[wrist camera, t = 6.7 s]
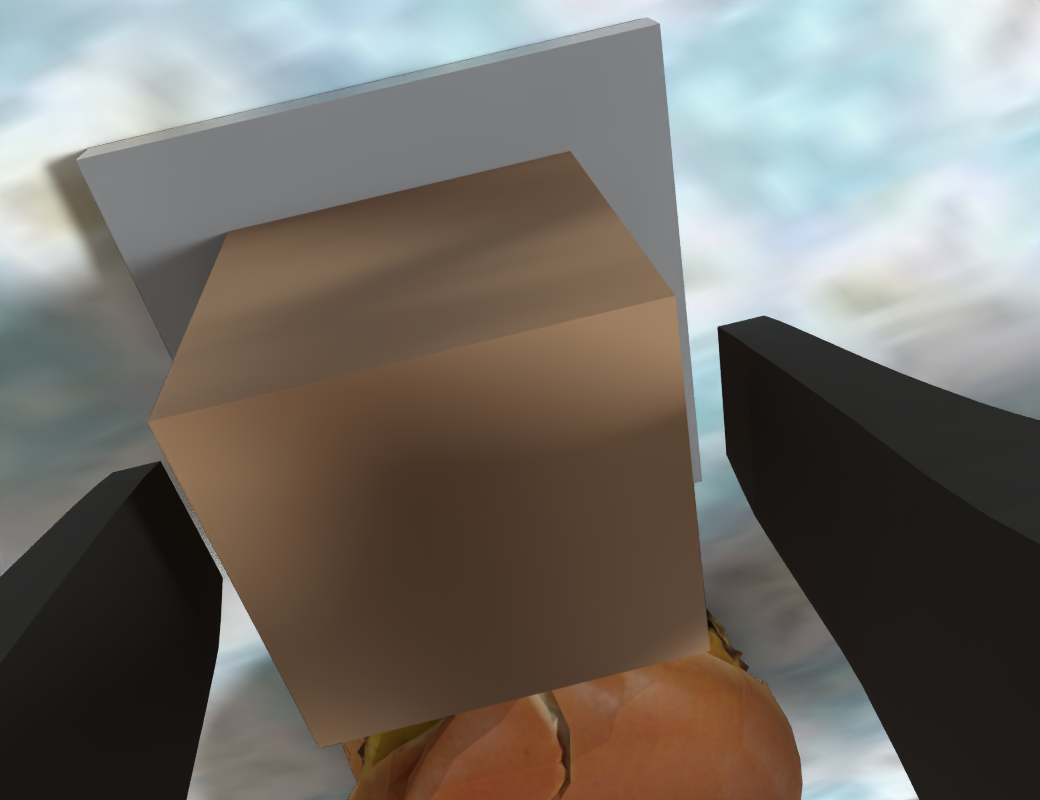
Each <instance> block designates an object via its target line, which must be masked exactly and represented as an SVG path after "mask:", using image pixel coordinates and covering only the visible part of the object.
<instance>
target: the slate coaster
mask: <svg viewBox="0 0 1040 800" xmlns="http://www.w3.org/2000/svg"><path fill="white" fill-rule="evenodd" d="M568 151H571V153H572V154H573V155H574V157H575V158H576V159H577V161H578V162H579V164H580V165H581V166H582V168H583V169H584V170H585V172H586V173H587V175H588V176H589V177H590V179H591V180H592V181H593V183H594V184H595V186H596V187H597V188H598V190H599V191H600V192H601V194H602V195H603V197H604V198H605V199H606V201H607V202H608V203H609V205H610V206H611V208H612V209H613V210H614V212H615V213H616V214H617V216H618V217H619V219H620V220H621V221H622V223H623V224H624V226H625V227H626V228H627V230H628V231H629V232H630V234H631V235H632V237H633V238H634V239H635V241H636V242H637V243H638V245H639V246H640V248H641V249H642V250H643V252H644V253H645V254H646V256H647V257H648V259H649V260H650V261H651V263H652V264H653V265H654V267H655V268H656V270H657V271H658V272H659V274H660V275H661V276H662V278H663V279H664V281H665V282H666V283H667V285H668V286H669V287H670V289H671V290H672V292H673V293H674V294H675V297H676V307H677V317H678V327H679V338H680V348H681V358H682V369H683V379H684V389H685V399H686V410H687V420H688V430H689V441H690V451H691V461H692V471H693V482H694V483H696V482H700V481H702V477H701V466H700V456H699V445H698V434H697V423H696V412H695V401H694V390H693V379H692V368H691V358H690V347H689V336H688V325H687V314H686V303H685V292H684V281H683V270H682V260H681V249H680V238H679V227H678V216H677V205H676V194H675V183H674V172H673V161H672V151H671V140H670V129H669V118H668V107H667V96H666V85H665V74H664V63H663V53H662V42H661V31H660V23H658V22H656V21H654V20H651V19H649V18H644V19H640V20H635V21H631V22H627V23H622V24H618V25H614V26H610V27H605V28H601V29H597V30H592V31H588V32H584V33H580V34H575V35H571V36H567V37H562V38H558V39H554V40H550V41H545V42H541V43H537V44H532V45H528V46H524V47H520V48H515V49H511V50H507V51H503V52H498V53H494V54H490V55H485V56H481V57H477V58H473V59H468V60H464V61H460V62H455V63H451V64H447V65H443V66H438V67H434V68H430V69H425V70H421V71H417V72H413V73H408V74H404V75H400V76H395V77H391V78H387V79H383V80H378V81H374V82H370V83H365V84H361V85H357V86H353V87H348V88H344V89H340V90H335V91H331V92H327V93H323V94H318V95H314V96H310V97H305V98H301V99H297V100H293V101H288V102H284V103H280V104H276V105H271V106H267V107H263V108H258V109H254V110H250V111H246V112H241V113H237V114H233V115H228V116H224V117H220V118H216V119H211V120H207V121H203V122H198V123H194V124H190V125H186V126H181V127H177V128H173V129H168V130H164V131H160V132H156V133H151V134H147V135H143V136H138V137H134V138H130V139H126V140H121V141H117V142H113V143H108V144H104V145H100V146H96V147H91V148H88V149H87V150H86V151H85V152H84V153H83V154H82V155H81V156H79V157H78V158H77V159H76V162H77V165H78V167H79V169H80V171H81V173H82V175H83V177H84V179H85V181H86V183H87V185H88V187H89V189H90V191H91V193H92V195H93V198H94V200H95V202H96V204H97V206H98V208H99V210H100V212H101V214H102V216H103V218H104V220H105V222H106V224H107V226H108V228H109V230H110V233H111V235H112V237H113V239H114V241H115V243H116V245H117V247H118V249H119V251H120V253H121V255H122V257H123V259H124V261H125V263H126V266H127V268H128V270H129V272H130V274H131V276H132V278H133V280H134V282H135V284H136V286H137V288H138V290H139V292H140V294H141V296H142V299H143V301H144V303H145V305H146V307H147V309H148V311H149V313H150V315H151V317H152V319H153V321H154V323H155V325H156V327H157V329H158V332H159V334H160V336H161V338H162V340H163V342H164V344H165V346H166V348H167V350H168V352H169V354H170V356H171V358H172V360H174V358H175V356H176V353H177V351H178V349H179V346H180V344H181V342H182V339H183V337H184V335H185V332H186V330H187V328H188V325H189V323H190V320H191V318H192V316H193V313H194V311H195V309H196V306H197V304H198V302H199V299H200V297H201V295H202V292H203V290H204V287H205V285H206V283H207V280H208V278H209V276H210V273H211V271H212V269H213V266H214V264H215V262H216V259H217V257H218V254H219V252H220V250H221V247H222V245H223V243H224V240H225V238H226V236H227V233H228V231H232V230H236V229H241V228H245V227H249V226H253V225H258V224H262V223H266V222H270V221H275V220H279V219H283V218H287V217H292V216H296V215H300V214H304V213H309V212H313V211H317V210H321V209H326V208H330V207H334V206H338V205H343V204H347V203H351V202H355V201H360V200H364V199H368V198H372V197H377V196H381V195H385V194H389V193H394V192H398V191H402V190H406V189H411V188H415V187H419V186H423V185H428V184H432V183H436V182H440V181H445V180H449V179H453V178H457V177H462V176H466V175H470V174H474V173H479V172H483V171H487V170H491V169H496V168H500V167H504V166H508V165H513V164H517V163H521V162H525V161H530V160H534V159H538V158H542V157H547V156H551V155H555V154H559V153H564V152H568Z"/></svg>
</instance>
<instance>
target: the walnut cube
mask: <svg viewBox="0 0 1040 800" xmlns="http://www.w3.org/2000/svg"><path fill="white" fill-rule="evenodd" d="M147 423H148V425H149V426H150V428H151V430H152V432H153V434H154V436H155V438H156V440H157V442H158V444H159V445H160V447H161V449H162V451H163V453H164V455H165V457H166V459H167V461H168V463H169V464H170V466H171V468H172V470H173V472H174V474H175V476H176V478H177V480H178V481H179V483H180V485H181V487H182V489H183V491H184V493H185V495H186V497H187V499H188V500H189V502H190V504H191V506H192V508H193V510H194V512H195V514H196V516H197V518H198V519H199V521H200V523H201V525H202V527H203V529H204V531H205V533H206V535H207V536H208V538H209V540H210V542H211V544H212V546H213V548H214V550H215V552H216V554H217V555H218V557H219V559H220V561H221V563H222V565H223V567H224V569H225V571H226V572H227V574H228V576H229V578H230V580H231V582H232V584H233V586H234V588H235V590H236V591H237V593H238V595H239V597H240V599H241V601H242V603H243V605H244V607H245V609H246V610H247V612H248V614H249V616H250V618H251V620H252V622H253V624H254V626H255V627H256V629H257V631H258V633H259V635H260V637H261V639H262V641H263V643H264V645H265V646H266V648H267V650H268V652H269V654H270V656H271V658H272V660H273V662H274V663H275V665H276V667H277V669H278V671H279V673H280V675H281V677H282V679H283V681H284V682H285V684H286V686H287V688H288V690H289V692H290V694H291V696H292V698H293V700H294V701H295V703H296V705H297V707H298V709H299V711H300V713H301V715H302V717H303V718H304V720H305V722H306V724H307V726H308V728H309V730H310V732H311V734H312V736H313V737H314V739H315V741H316V743H317V745H318V747H319V748H323V747H327V746H331V745H335V744H339V743H343V742H347V741H351V740H355V739H359V738H363V737H367V736H371V735H375V734H379V733H383V732H387V731H391V730H395V729H399V728H403V727H407V726H411V725H415V724H419V723H423V722H427V721H431V720H435V719H439V718H443V717H447V716H451V715H455V714H459V713H463V712H468V711H472V710H476V709H480V708H484V707H488V706H492V705H496V704H500V703H504V702H508V701H512V700H516V699H520V698H524V697H528V696H532V695H536V694H540V693H544V692H548V691H552V690H556V689H560V688H564V687H568V686H572V685H576V684H580V683H584V682H588V681H592V680H596V679H600V678H604V677H608V676H612V675H616V674H620V673H624V672H628V671H632V670H636V669H640V668H644V667H648V666H652V665H656V664H660V663H664V662H668V661H672V660H676V659H680V658H684V657H688V656H692V655H696V654H700V653H704V652H708V651H710V646H709V636H708V626H707V615H706V605H705V595H704V584H703V574H702V564H701V554H700V543H699V533H698V523H697V513H696V502H695V492H694V482H693V471H692V461H691V451H690V441H689V430H688V420H687V410H686V399H685V389H684V379H683V369H682V358H681V348H680V338H679V327H678V317H677V307H676V297H675V294H674V293H673V292H672V290H671V289H670V287H669V286H668V285H667V283H666V282H665V281H664V279H663V278H662V276H661V275H660V274H659V272H658V271H657V270H656V268H655V267H654V265H653V264H652V263H651V261H650V260H649V259H648V257H647V256H646V254H645V253H644V252H643V250H642V249H641V248H640V246H639V245H638V243H637V242H636V241H635V239H634V238H633V237H632V235H631V234H630V232H629V231H628V230H627V228H626V227H625V226H624V224H623V223H622V221H621V220H620V219H619V217H618V216H617V214H616V213H615V212H614V210H613V209H612V208H611V206H610V205H609V203H608V202H607V201H606V199H605V198H604V197H603V195H602V194H601V192H600V191H599V190H598V188H597V187H596V186H595V184H594V183H593V181H592V180H591V179H590V177H589V176H588V175H587V173H586V172H585V170H584V169H583V168H582V166H581V165H580V164H579V162H578V161H577V159H576V158H575V157H574V155H573V154H572V153H571V151H568V152H564V153H559V154H555V155H551V156H547V157H542V158H538V159H534V160H530V161H525V162H521V163H517V164H513V165H508V166H504V167H500V168H496V169H491V170H487V171H483V172H479V173H474V174H470V175H466V176H462V177H457V178H453V179H449V180H445V181H440V182H436V183H432V184H428V185H423V186H419V187H415V188H411V189H406V190H402V191H398V192H394V193H389V194H385V195H381V196H377V197H372V198H368V199H364V200H360V201H355V202H351V203H347V204H343V205H338V206H334V207H330V208H326V209H321V210H317V211H313V212H309V213H304V214H300V215H296V216H292V217H287V218H283V219H279V220H275V221H270V222H266V223H262V224H258V225H253V226H249V227H245V228H241V229H236V230H232V231H228V233H227V236H226V238H225V240H224V243H223V245H222V247H221V250H220V252H219V254H218V257H217V259H216V262H215V264H214V266H213V269H212V271H211V273H210V276H209V278H208V280H207V283H206V285H205V287H204V290H203V292H202V295H201V297H200V299H199V302H198V304H197V306H196V309H195V311H194V313H193V316H192V318H191V320H190V323H189V325H188V328H187V330H186V332H185V335H184V337H183V339H182V342H181V344H180V346H179V349H178V351H177V353H176V356H175V358H174V360H173V363H172V365H171V368H170V370H169V372H168V375H167V377H166V379H165V382H164V384H163V386H162V389H161V391H160V393H159V396H158V398H157V401H156V403H155V405H154V408H153V410H152V412H151V415H150V417H149V419H148V422H147Z"/></svg>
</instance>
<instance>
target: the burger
mask: <svg viewBox="0 0 1040 800" xmlns="http://www.w3.org/2000/svg"><path fill="white" fill-rule="evenodd" d="M706 615H707V626H708V636H709V646H710V651H708V652H704V653H700V654H696V655H692V656H688V657H684V658H680V659H676V660H672V661H668V662H664V663H660V664H656V665H652V666H648V667H644V668H640V669H636V670H632V671H628V672H624V673H620V674H616V675H612V676H608V677H604V678H600V679H596V680H592V681H588V682H584V683H580V684H576V685H572V686H568V687H564V688H560V689H556V690H552V691H548V692H544V693H540V694H536V695H532V696H528V697H524V698H520V699H516V700H512V701H508V702H504V703H500V704H496V705H492V706H488V707H484V708H480V709H476V710H472V711H468V712H463V713H459V714H455V715H451V716H447V717H443V718H439V719H435V720H431V721H427V722H423V723H419V724H415V725H411V726H407V727H403V728H399V729H395V730H391V731H387V732H383V733H379V734H375V735H371V736H367V737H363V738H359V739H355V740H351V741H347V742H343V748H344V751H345V754H346V756H347V759H348V761H349V764H350V767H351V770H352V773H353V775H354V777H355V779H356V781H357V783H358V784H357V785H356V786H355V788H354V789H353V790H352V792H351V794H350V796H349V798H348V799H347V800H801V793H802V773H801V762H800V756H799V753H798V749H797V746H796V742H795V739H794V735H793V732H792V728H791V726H790V724H789V722H788V720H787V718H786V716H785V714H784V713H783V711H782V709H781V708H780V706H779V704H778V703H777V701H776V700H775V698H774V697H773V695H772V693H771V691H770V689H769V688H768V686H767V684H766V682H765V680H763V681H762V683H761V682H759V681H758V680H757V679H756V678H754V677H753V676H751V675H750V674H748V673H747V672H746V671H747V669H748V668H749V667H748V666H747V665H746V664H745V663H744V662H743V661H742V660H741V659H740V657H741V655H742V652H739V651H737V650H735V649H734V648H733V647H731V645H730V643H729V641H728V639H727V637H726V635H725V634H724V633H725V629H724V628H723V626H722V625H721V624H720V623H719V622H718V621H717V620H716V619H715V618H714V617H713V616H712V615H711V614H710V612H709V611H708V610H707V609H706Z"/></svg>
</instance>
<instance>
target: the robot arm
mask: <svg viewBox="0 0 1040 800" xmlns="http://www.w3.org/2000/svg"><path fill="white" fill-rule="evenodd" d="M718 341H719V355H720V369H721V384H722V398H723V412H724V427H725V441H726V455H727V457H728V459H729V461H730V464H731V466H732V468H733V470H734V472H735V475H736V477H737V479H738V481H739V484H740V486H741V488H742V490H743V492H744V494H745V496H746V498H747V501H748V503H749V505H750V507H751V509H752V511H753V513H754V515H755V517H756V519H757V520H758V522H759V523H760V525H761V527H762V528H763V530H764V531H765V533H766V535H767V536H768V538H769V539H770V541H771V542H772V544H773V545H774V547H775V549H776V550H777V552H778V553H779V555H780V556H781V558H782V560H783V561H784V563H785V564H786V566H787V567H788V569H789V570H790V572H791V573H792V575H793V577H794V578H795V580H796V581H797V583H798V584H799V586H800V587H801V589H802V590H803V592H804V593H805V595H806V596H807V598H808V600H809V601H810V603H811V604H812V606H813V607H814V609H815V610H816V612H817V613H818V615H819V616H820V618H821V620H822V621H823V623H824V624H825V626H826V627H827V629H828V630H829V632H830V633H831V635H832V636H833V638H834V640H835V641H836V643H837V644H838V646H839V647H840V649H841V650H842V652H843V654H844V655H845V657H846V659H847V660H848V662H849V664H850V665H851V667H852V669H853V671H854V672H855V674H856V676H857V677H858V679H859V681H860V682H861V684H862V686H863V688H864V690H865V692H866V694H867V696H868V698H869V700H870V702H871V704H872V706H873V708H874V710H875V712H876V713H877V715H878V717H879V719H880V721H881V723H882V725H883V727H884V729H885V731H886V733H887V735H888V737H889V739H890V741H891V743H892V745H893V747H894V749H895V751H896V753H897V755H898V757H899V759H900V761H901V763H902V765H903V767H904V769H905V771H906V773H907V775H908V777H909V779H910V781H911V783H912V785H913V788H914V790H915V792H916V794H917V796H918V798H919V800H1040V420H1036V419H1032V418H1029V417H1025V416H1022V415H1018V414H1015V413H1011V412H1008V411H1005V410H1002V409H999V408H996V407H992V406H989V405H986V404H983V403H980V402H977V401H975V400H972V399H969V398H966V397H963V396H961V395H958V394H955V393H952V392H949V391H947V390H944V389H941V388H938V387H935V386H933V385H930V384H927V383H925V382H922V381H920V380H917V379H914V378H912V377H909V376H907V375H904V374H902V373H899V372H897V371H894V370H892V369H890V368H887V367H885V366H882V365H880V364H878V363H875V362H873V361H870V360H868V359H866V358H863V357H861V356H859V355H856V354H854V353H852V352H850V351H847V350H845V349H843V348H840V347H838V346H836V345H834V344H831V343H829V342H827V341H825V340H822V339H820V338H818V337H816V336H813V335H811V334H809V333H807V332H804V331H802V330H800V329H797V328H795V327H793V326H790V325H788V324H786V323H783V322H781V321H778V320H775V319H773V318H770V317H767V316H760V317H756V318H752V319H748V320H744V321H740V322H736V323H731V324H727V325H723V326H719V327H718ZM222 583H223V577H222V575H221V573H220V571H219V570H218V568H217V566H216V564H215V562H214V560H213V558H212V557H211V555H210V553H209V551H208V549H207V547H206V545H205V543H204V542H203V540H202V538H201V536H200V534H199V532H198V530H197V528H196V527H195V525H194V523H193V521H192V519H191V517H190V515H189V514H188V512H187V510H186V508H185V506H184V504H183V502H182V500H181V499H180V497H179V495H178V493H177V491H176V489H175V487H174V485H173V484H172V482H171V480H170V478H169V476H168V474H167V472H166V470H165V469H164V467H163V465H162V463H161V461H159V462H155V463H150V464H146V465H142V466H138V467H134V468H130V469H125V470H121V471H117V472H113V473H112V474H110V475H109V476H108V477H107V478H105V479H104V480H103V481H101V482H100V483H99V484H98V485H97V486H95V487H94V488H93V489H92V490H91V491H90V492H89V493H88V494H86V495H85V496H84V497H83V498H82V499H81V500H80V501H79V502H78V503H77V504H76V505H75V506H73V507H72V508H71V509H70V510H69V511H68V512H67V513H66V514H65V515H64V516H63V517H62V518H61V519H60V520H59V521H58V522H57V523H56V524H55V525H54V526H53V527H52V528H51V529H49V530H48V531H47V532H46V533H45V534H44V535H43V536H42V537H41V538H40V539H39V540H38V541H37V542H36V543H35V544H34V545H33V546H32V547H31V548H30V549H29V550H28V551H27V552H26V553H25V554H24V555H23V556H22V557H21V558H19V559H18V560H17V561H16V562H15V563H14V564H13V565H12V566H11V567H10V568H9V569H8V570H7V571H6V572H5V573H4V574H3V575H2V576H1V577H0V800H186V799H187V795H188V790H189V786H190V781H191V776H192V772H193V767H194V762H195V758H196V753H197V749H198V744H199V740H200V735H201V730H202V726H203V721H204V717H205V712H206V707H207V703H208V698H209V693H210V688H211V683H212V678H213V674H214V669H215V664H216V659H217V653H218V648H219V635H220V623H221V606H222Z"/></svg>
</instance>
